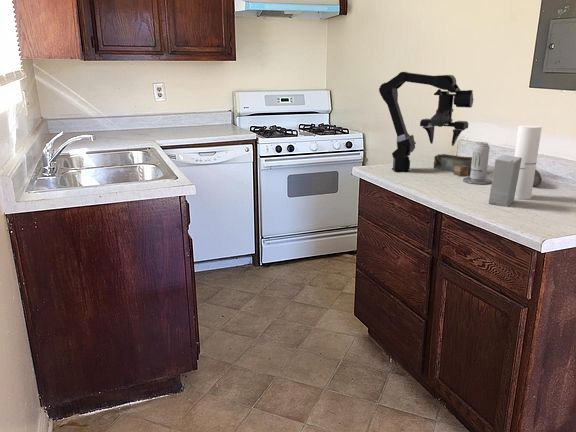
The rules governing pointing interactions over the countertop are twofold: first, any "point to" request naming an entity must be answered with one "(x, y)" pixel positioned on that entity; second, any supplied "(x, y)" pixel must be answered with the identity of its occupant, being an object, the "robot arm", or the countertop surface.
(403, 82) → the robot arm
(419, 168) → the countertop surface
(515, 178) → the skincare box
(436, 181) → the countertop surface
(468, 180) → the coaster
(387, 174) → the countertop surface
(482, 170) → the energy drink can
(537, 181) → the perforated stone tool
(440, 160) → the beverage carton
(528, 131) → the cylindrical container
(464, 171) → the walnut block
